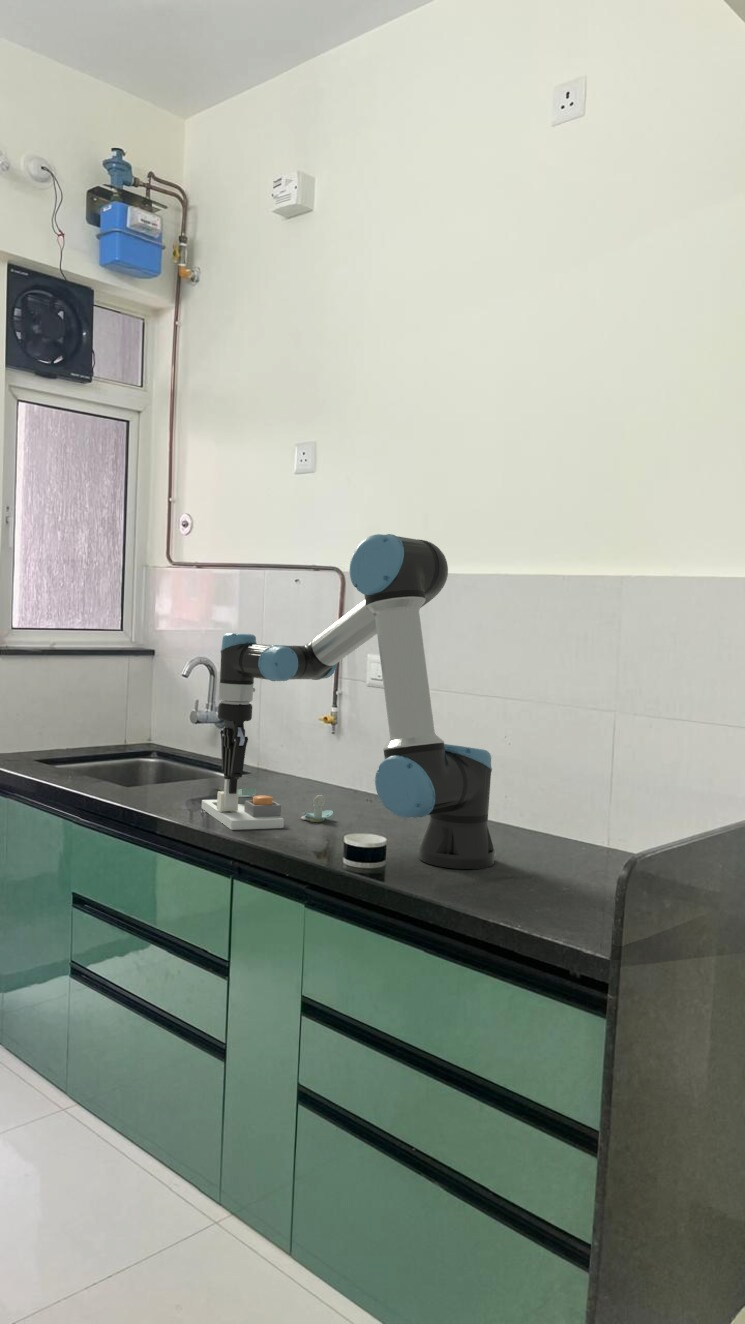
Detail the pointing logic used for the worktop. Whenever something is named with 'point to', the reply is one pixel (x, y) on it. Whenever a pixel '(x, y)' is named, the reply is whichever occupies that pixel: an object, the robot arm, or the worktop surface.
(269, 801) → the plunger button
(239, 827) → the panel
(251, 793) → the rocker
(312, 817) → the pacifier
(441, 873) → the worktop surface
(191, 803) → the worktop surface
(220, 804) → the off-white square block
